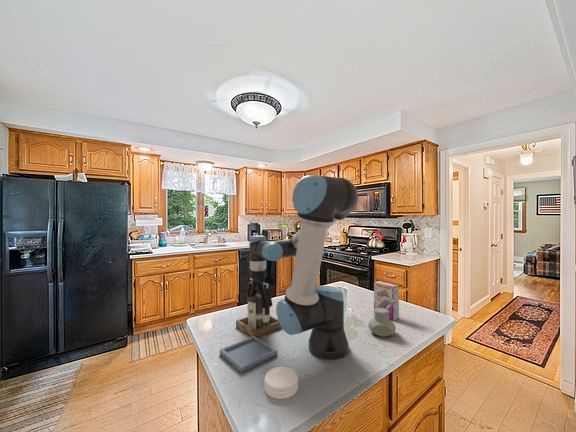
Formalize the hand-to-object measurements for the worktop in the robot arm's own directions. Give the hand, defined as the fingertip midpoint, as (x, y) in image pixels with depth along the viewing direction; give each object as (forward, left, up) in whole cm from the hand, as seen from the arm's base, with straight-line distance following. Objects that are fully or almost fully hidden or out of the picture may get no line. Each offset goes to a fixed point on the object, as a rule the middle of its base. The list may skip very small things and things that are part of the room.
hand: (258, 318), depth 113 cm
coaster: (-37, +18, -5) cm, 41 cm away
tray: (-16, +16, -4) cm, 23 cm away
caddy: (0, 0, -4) cm, 4 cm away
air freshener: (-41, -35, -5) cm, 54 cm away
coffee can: (0, 0, -5) cm, 5 cm away
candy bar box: (-34, -53, -5) cm, 63 cm away
